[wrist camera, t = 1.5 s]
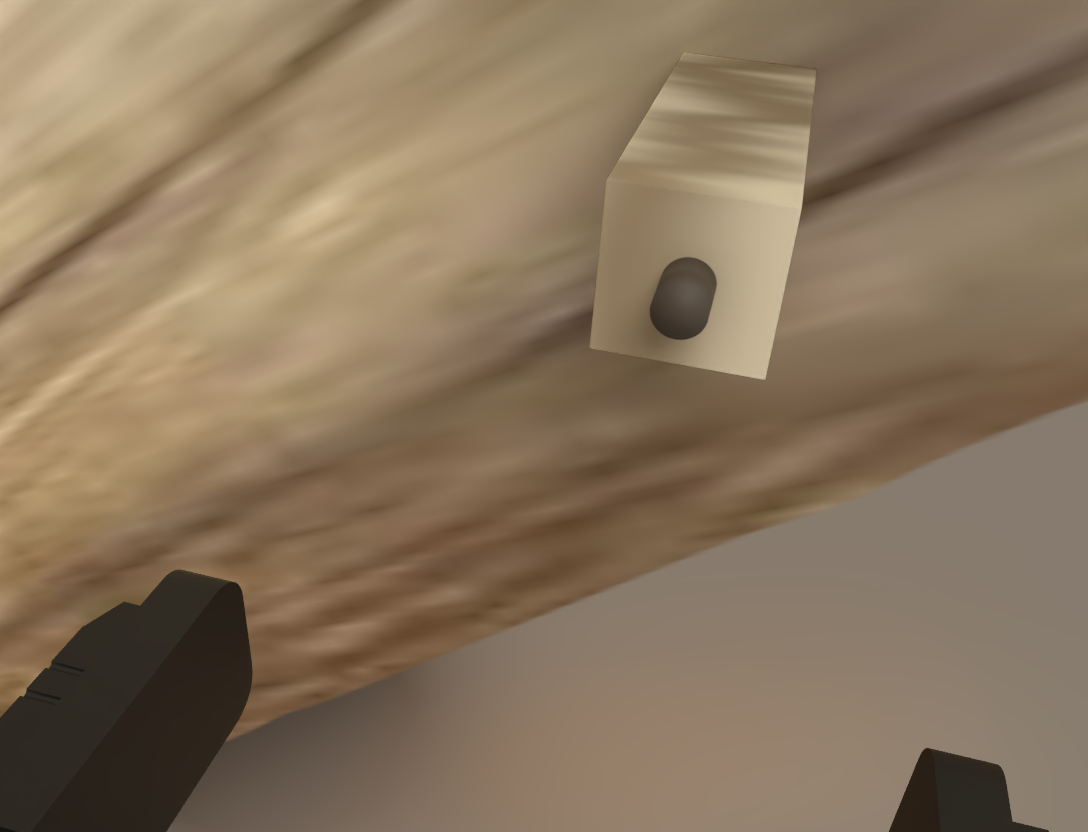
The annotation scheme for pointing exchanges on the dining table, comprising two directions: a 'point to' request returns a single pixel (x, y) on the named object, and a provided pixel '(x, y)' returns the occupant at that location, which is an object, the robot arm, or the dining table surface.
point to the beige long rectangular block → (705, 217)
